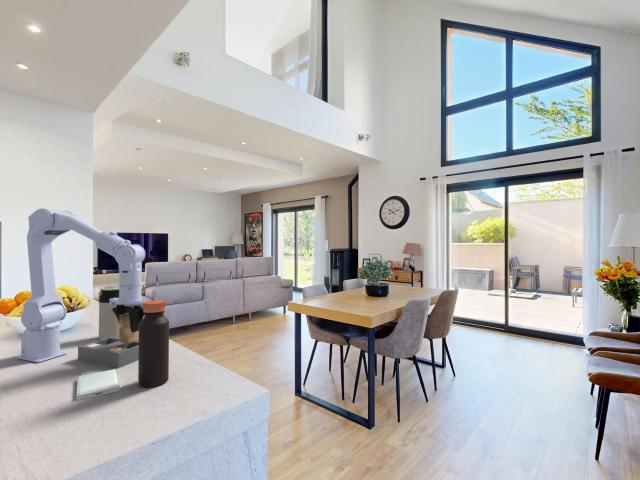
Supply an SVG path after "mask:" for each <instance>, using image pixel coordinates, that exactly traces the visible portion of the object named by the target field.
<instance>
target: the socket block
mask: <svg viewBox="0 0 640 480" xmlns="http://www.w3.org/2000/svg"><path fill="white" fill-rule="evenodd" d="M138 352H139V340H138V341H135V342H132V343H129V344H128V343H121V342H119V334H118V335H115V336H112V337H108V338H105V339H102V340H101V339H98V340H95V341H93V342H88V343H86V344H82V345H79V346H77V361H79V362H85V363H90V364H91V363H92V364H96V365H101V366H106V367H112V368H118V369H119V368H122V367H125V366H126V365H127V366H128V365H129V364H132V363H134V362H137V361H138Z"/></svg>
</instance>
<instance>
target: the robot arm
mask: <svg viewBox="0 0 640 480" xmlns="http://www.w3.org/2000/svg"><path fill="white" fill-rule="evenodd" d="M27 220H28V227H29V228H28V231H27V235H26V244H27V245H26V246H27V256H28V268H29V277H30V278H29V279H30V291H31V293H30V294H31V296H30V297H29V298H28V299H27V300H26V301H25V302H24V303H23V304H22V305H23V306H22V307H23V310H22V313H21V316H20V320H21V321H20V322H21V324H22V326H24V327H25V329H24V331H23V332H22V333H21V339H20V341H21V342H20V348H21V349H20V355H18V356H17V357H16V358H17V359H18V360H23V361H28V362H33V363H40V362H44V361H47V360H52V359H54V358H57V357H60V356H64V355H67V354H68V352H67V351H64V350H61V325H62V323H63V320H64V319H65V318H66V316H67V314H68V313H67V312H68V310H67V308H66V306H65V304H64V301H63V299H64V298H63V297H62V296H60V295H59V294H58V293H56V281H55V279H56V278H55V271H54V270H55V269H54V257H53V247H52V242H54V241H55V240H56V238H58V237H59V236H62V235H63V234H66V233H68V232H70V231H73V232H75V233H77V234H79V235H81V236H83V237H85V238H88V239H89V240H92V241H93V242H95V244H94V245H95V247H96V248H98V249H99V250H101V251H103V252H105V253H106V254H108V255H110V256H112V257H113V258H114V259H115V261H116V263H118V264H117V265H118V270H119V271H118V272H119V274H118V275H119V278H118V282H119V283H118V286H119V298H111V299H110V303H109V305H117V306H116V307H115V308H112V311H113V312H114V313H115V315H116V317H117V319H118V322H119V315H121V314H126V313H128V314H129V317H130V322H131V331H132V332H136V331H139V323H140V321H141V320H142V319H143V318H144V317H145V314H143V313H144V312H143V303H144V302H147V301H149V300H147V299H144V298H142V276H143V275H142V274H143V273H142V268H143V267H142V266H143V265H142V262H144V260H145V258H146V255H147V254H146V250H145V249H144V247H143V246H141V244H139V243H138V244H137V243H133V244H132V242H131V241H130V240H128V239H124V238H122V237H121V236H119V235H118V233H117V232H116V231H109V230H106V231H102V230H101V229H99V228H97V227H95V226H94V225H92V224H90V222H88V221H85V219H82V218H81V217H80V216H79V215H77V214H75V213H72V211H68V210H57V209H56V210H55V209H46V208H38V209H36V210H35V211H33V212H32V213H31V214H30V215H29V216H28V219H27Z"/></svg>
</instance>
